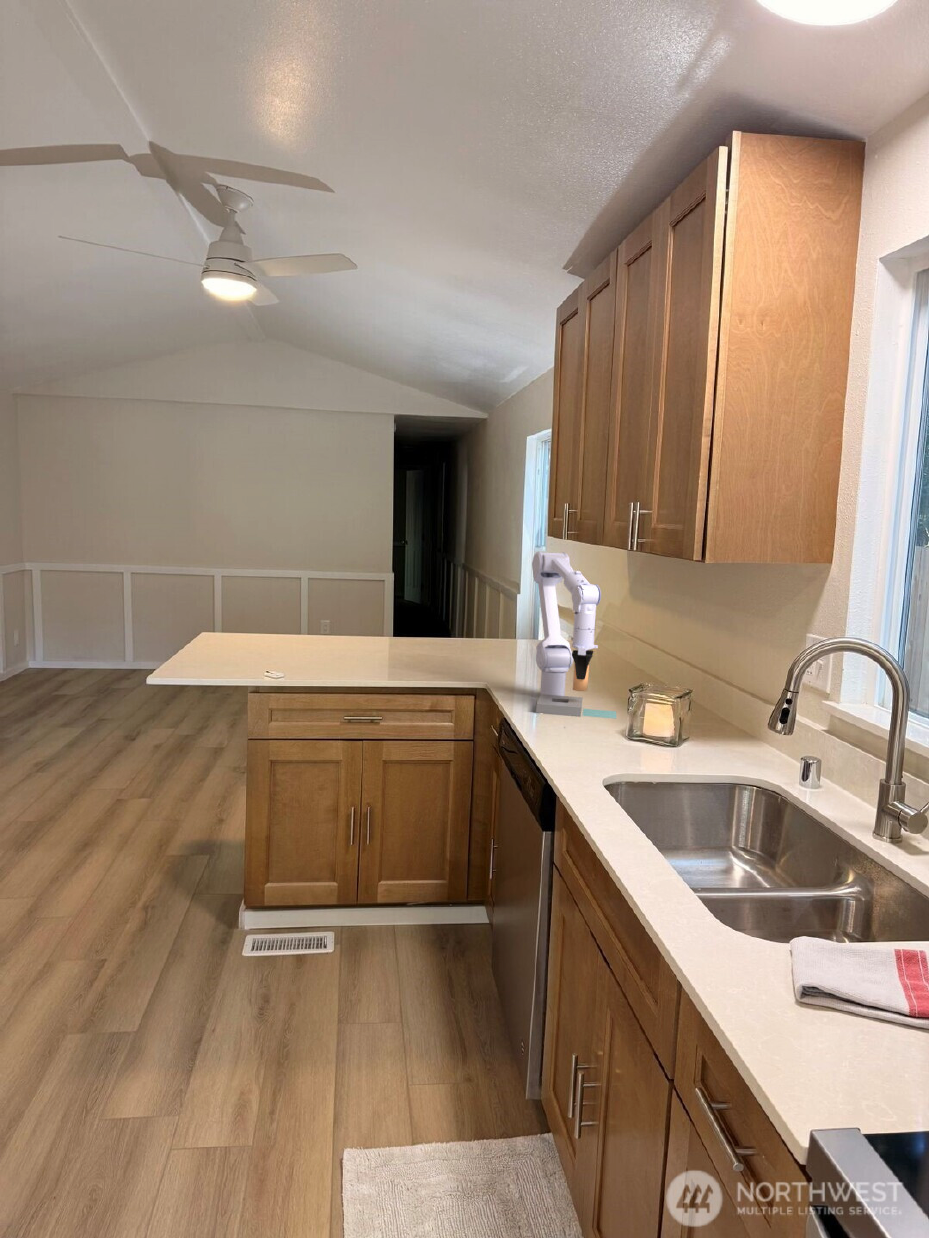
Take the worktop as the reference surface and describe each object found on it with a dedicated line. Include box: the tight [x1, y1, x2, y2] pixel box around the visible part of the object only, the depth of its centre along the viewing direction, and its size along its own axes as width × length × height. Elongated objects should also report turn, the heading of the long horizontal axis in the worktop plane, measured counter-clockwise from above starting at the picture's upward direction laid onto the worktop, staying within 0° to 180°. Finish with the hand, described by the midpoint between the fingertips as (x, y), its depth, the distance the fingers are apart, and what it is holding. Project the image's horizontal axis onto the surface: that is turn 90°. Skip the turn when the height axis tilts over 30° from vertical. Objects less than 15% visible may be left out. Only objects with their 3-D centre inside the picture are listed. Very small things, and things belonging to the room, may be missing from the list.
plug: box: [572, 663, 590, 692], centre depth 233 cm, size 4×4×7 cm
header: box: [535, 693, 583, 718], centre depth 236 cm, size 14×12×3 cm
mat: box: [582, 708, 617, 719], centre depth 233 cm, size 9×9×1 cm
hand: (581, 677), depth 233 cm, fingers closed on plug, 4 cm apart
